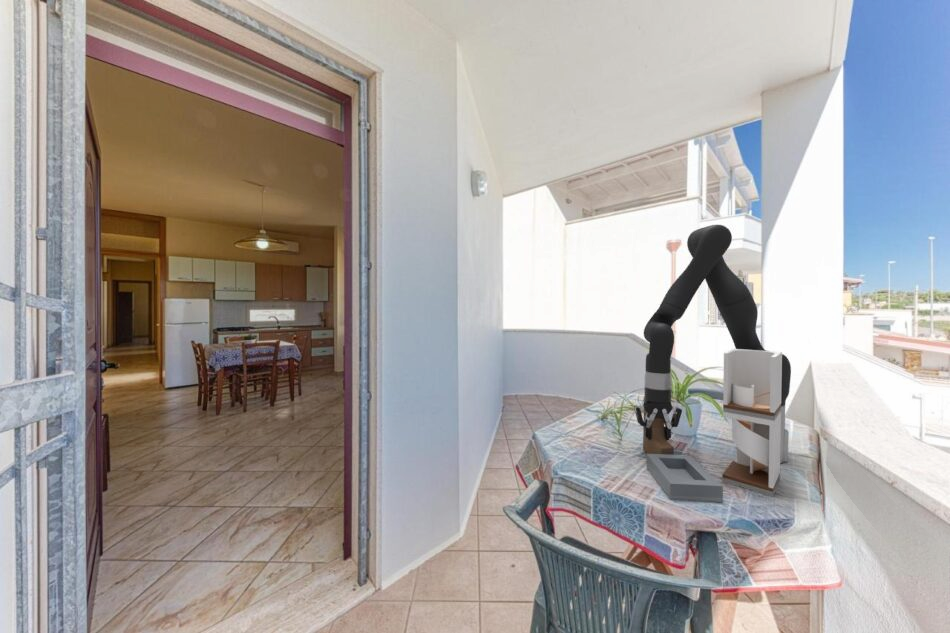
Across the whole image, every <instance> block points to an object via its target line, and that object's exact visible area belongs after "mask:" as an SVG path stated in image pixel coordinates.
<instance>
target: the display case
mask: <svg viewBox="0 0 950 633" xmlns="http://www.w3.org/2000/svg"><path fill="white" fill-rule="evenodd" d="M782 354H783V352H782V351H775V350H774V351H772V350H767V351H759V350H745V349H736V348H733V349H730V350H728V351H726V352H725V351H724V352H723V391H722V392H723V394H722V395H723V397H722V398H723V399H722V400H723V401H722V403H723V404H722V406H723V407H722V408H723V409H722V417H723V418H727V419H731V439H732V442H733V444H734V445H735V447H736V460H731V462H730V463H729V465H728V466H727V468H726V469H725V470H724V471H723V473H721V474H722V476H721V478H722V479H721V481H722V482H723V483H725V484H730V485H733V486H736V485H737V486H736V487H739V486H741V487H740V488H742V487H744V488H743V489H746V488H747V489H746V490H749V489H750V491H753V492H756V493H759V494H763V495H767V496H770V497H772V498H773V497H774V495H775V492H776V491H777V488H778V486H779V483H780V481H781V463H780V441H781V387H782Z"/></svg>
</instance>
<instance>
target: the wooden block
mask: <svg viewBox="0 0 950 633" xmlns="http://www.w3.org/2000/svg"><path fill="white" fill-rule="evenodd" d="M644 398H645V396H643V402H644V401H645V399H644ZM646 414H647V412H646V411H645V409H643V421H645V417H646ZM648 416H649V415H648ZM649 417H650V416H649ZM642 427H643V430H642V431H643V435H642V436H643V438H642V445H643V446H642V451H644V452H645V453H646V454H668V455H675V447H674V446H673V445H672V444H671V443H669V440H666V438H665V433H664V427H665V424H664V420H663V419H661V418H656V419H655V418H654V420H653V422H652V423H651V426H650V428H651V440H648V439H647V438H646V437H645V435H644V426H642Z"/></svg>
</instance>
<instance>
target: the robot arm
mask: <svg viewBox="0 0 950 633" xmlns="http://www.w3.org/2000/svg"><path fill="white" fill-rule="evenodd" d="M732 237H733V236H732V232H731V230H730V229H729V228H728V227H727V226H726V225H722V224H711V225H707V226H704V227H700V228H698V229H695V230H693V231H692V232H691V233H690V234H689V235H688V238H687V241H686V246H687V249H688V252H689V254H690V255H691V257H692V259H691V260H690V262H689V264H688V265H687V267H686V268H685V269H684V271H682V273H681V274H680V275H679V276H678V277H677V279H676V280H675V281H673V283H672V284H671V286H670V287H669V288H668V290H667V292H666V294H665V296H663V299H662V301H661V303H660V304H659V307H658V308H657V310H655V312H654V313H653V315H651V317H650V319H649V320H648V321H647V323H646V324H645V327H644V329H643V337H644V339H645V340H646V341H647V342H648V343H649V347H648V349H649V351H648V353H647V354H646V356H645V373H644V397H645V398H644V397H643V404H642V405H634V406H633V408H634V413H635V416H636V420H637V424H638V425H640V427H643V426H644V435H645V437H646V438H647V439H648V440H651V428H650V426H651V423H652V422H653V420H654V418H655V419H656V418H661V419H663V420H664V433H665V438H666V440H667V441H669V440H670V439H671V437H672V428H677V427H678V426H679V424H680V419H681V416H682V413H683V409H682V408H680V407H679V406H673V405H672V386H673V384H672V376H671V375H672V374H671V370H672V369H671V362H672V361H671V358H672V354H673V349H674V345H675V334H674V330H673V328H672V327H673V326H674V323H676V321H678V320H680V319H681V318H682V317H683V316H684V314H685V312H686V311H687V309H688V308H689V306H690V303H691V301H692V300H693V299H694V297H695V295H696V293H697V292H698V289H699V288H700V286H701V285H702V283H703V282H704V281H705V283H706V284H707V287H708V288H709V291H710V293H711V296H712V298H713V300H714V302H715V305H716V307H717V309H718V311H719V314H720V316H721V318H722V319H723V322H724V323H725V325H726V328H727V330H728V333H729V335H730V337H731V339H732V342H733V345H734V349H745V350H759V351H768V350H766V349H765V348H764V346H763V345H762V342H761V340H760V339H759V336H758V333H757V321H758V312H759V311H758V307H757V304H756V302H755V300H754V297H753V295H752V293H751V291H750V289H749V288H748V286H747V285H746V284H745V283H744V282H743V280H741V278H739V277H738V276H737V274H735V273H734V272H733V271H732V270H731V269H730V268H729V266H728V265H727V262H726V261H725V258H724V257H723V256H724V255H725V253H726V252H727V250H728V249H729V248H730V246H731V245H732V240H733V238H732ZM791 373H792V367H791V362H790V360H789V358H788V356H786V354H783V353H782V387H781V441H780V464H782V463H787V462H789V430H788V429H787V428H786V400H787V398H788V397H789V396H790V395H789V394H790V389H791V388H790V387H791V379H792V378H791V377H792V375H791ZM644 399H645V401H644ZM644 409H645V411H646V412H647V414H646V417H645V421H644V417H643V414H644ZM671 411H672V412H671ZM642 413H643V414H642ZM670 413H672V416H671V419H670V418H669V414H670ZM648 415H649V416H650V417H649V416H648Z"/></svg>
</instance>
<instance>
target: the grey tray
mask: <svg viewBox="0 0 950 633" xmlns="http://www.w3.org/2000/svg"><path fill="white" fill-rule="evenodd" d="M646 468H647V469H648V471H649V472H650V474H651V475H652V477H653V478H654V479H655V480H656V483H658V484H659V487H661V489H662V491H664V493H665V494H666V496H667V497H668V499H669V500H675V501H676V500H679V501H693V502H694V501H695V502H710V503H711V502H713V503H723V502H724V486H723V484H721V483H720V482H719V481H718V480H717V479H716V478H715V477H714V476H713V475H711V473H709V471H707V469H705V468H704V467H703V466H702V465H701V464H700V463H699V462H698V461H697V460H695V458H693V456H691V455H688V454H685V455H684V454H674V455H668V454H648V453H646Z"/></svg>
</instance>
